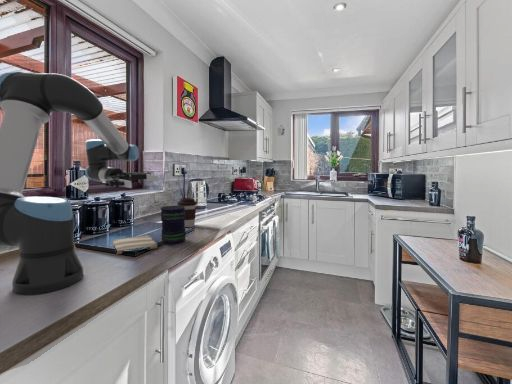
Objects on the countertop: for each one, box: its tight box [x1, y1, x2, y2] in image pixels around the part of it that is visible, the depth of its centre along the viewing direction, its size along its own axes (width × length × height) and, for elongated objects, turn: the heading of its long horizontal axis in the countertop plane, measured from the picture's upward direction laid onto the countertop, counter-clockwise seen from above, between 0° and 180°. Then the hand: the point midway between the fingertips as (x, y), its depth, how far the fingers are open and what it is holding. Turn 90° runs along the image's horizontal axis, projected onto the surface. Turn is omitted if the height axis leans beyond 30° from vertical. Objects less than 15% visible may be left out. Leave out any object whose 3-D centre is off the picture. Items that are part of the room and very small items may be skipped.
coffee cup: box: [177, 197, 198, 228], centre depth 138 cm, size 10×10×15 cm
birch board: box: [112, 235, 158, 255], centre depth 104 cm, size 16×14×2 cm
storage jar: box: [160, 205, 187, 246], centre depth 109 cm, size 10×10×15 cm
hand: (145, 181), depth 108 cm, fingers open, 13 cm apart
